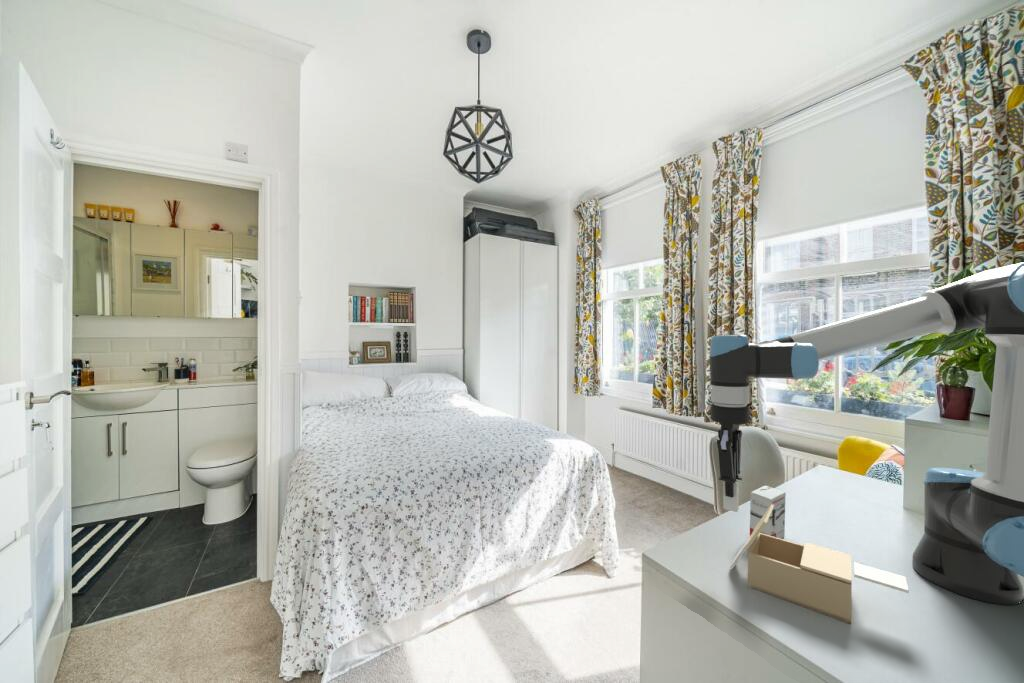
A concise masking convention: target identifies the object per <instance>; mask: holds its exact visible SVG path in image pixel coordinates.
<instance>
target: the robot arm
mask: <svg viewBox="0 0 1024 683" xmlns="http://www.w3.org/2000/svg"><path fill="white" fill-rule="evenodd" d="M973 329H984V337H985V338H987V339H988V340H989V341H990V342H991V343H993V344H994V345H995V346H996V349H995V360H994V361H995V362H994V369H993V382H992V391H991V392H992V394H991V400H990V401H991V403H990V414H989V422H988V423H989V425H988V435H987V445H986V457H985V467H984V472H982V471H975V470H967V469H961V468H950V467H930V468H928V469H927V470H926V471H925V478H924V481H923V485H924V524H923V525H924V528H923V529H924V530H923V532H924V533H923V534H922V537H921V538H920V540H919V542H918V544H917V546H916V548H915V549H914V550H913V553H912V555H911V556H912V561H911V563H912V564H911V565H912V568H913V569H914V571H915V572H916V573H918V574H919V575H920V576H921V577H923V578H924V579H926V580H928V581H929V582H932V583H933V584H935V585H936V586H939V587H941V588H943V589H946V590H949V591H951V592H952V593H956V594H958V595H962V596H964V597H968V598H971V599H974V600H978V601H983V602H987V603H991V604H997V605H1005V604H1014V605H1018V604H1017V603H1019V602H1021V601H1022V600H1023V601H1024V587H1023V586H1024V585H1023V584H1022V581H1021V579H1020V577H1019V576H1021V577H1023V578H1024V262H1019V263H1015V264H1010V265H1005V266H999V267H995V268H989V269H986V270H983V271H981V272H978V273H975V274H973V275H971V276H966V277H965V278H962V279H959V280H958V281H954V282H952V283H949V284H946V285H943V286H941V287H938V288H937V287H936V288H934V289H931V290H927V291H924V292H923V293H922V295H921V296H920V297H919V298H916V299H913V300H910V301H906V302H903V303H899V304H895V305H891V306H889V307H885V308H881V309H878V310H874V311H870V312H867V313H864V314H860V315H856V316H854V317H849V318H846V319H843V320H840V321H836V322H832V323H829V324H825V325H821V326H819V327H815V328H811V329H806V330H803V331H800V332H796V333H794V334H790V335H788V336H783V337H780V338H777V339H772V340H765V341H761V342H759V343H752V342H750V340H749V336H748V335H746V334H724V335H723V334H719V335H718V334H716V335H714V336H713V337H711V339H710V342H709V343H710V345H709V346H710V348H709V373H710V375H709V376H710V378H709V379H710V380H709V381H710V387H708V389H707V391H708V392H709V393H710V401H711V402H712V404H711V405H710V419H711V421H712V422H714V423H718V424H720V429H718V430H717V436H718V437H717V438H718V439H717V440H716V446H717V451H718V465H719V474H720V475H719V477H718V480H719V481H722V492H723V494H722V498H723V499H722V503H723V506H722V507H723V508H722V509H724V510H725V511H726V510H727V511H731V512H735V513H738V512H739V481H743V476H740V474H741V454H742V452H741V451H742V448H741V447H742V435H743V431H742V430H741V429H740V426H741V425H746V424H748V423H750V407H749V406H748V404H750V378H753V379H758V378H760V379H787V380H793V379H794V381H795V380H801V379H802V380H805V379H806V380H807V379H813V378H815V377H816V376H817V375H818V372H819V364H820V362H821V361H824V360H828V359H833V358H836V357H840V356H845V355H849V354H852V353H855V352H860V351H864V350H869V349H872V348H876V347H881V346H884V345H887V344H892V343H897V342H901V341H904V340H908V339H912V338H916V337H920V336H924V335H928V334H933V333H937V332H938V333H941V334H944V335H948V334H952V333H957V332H960V331H965V330H966V331H967V330H973ZM1023 601H1022V602H1023ZM1022 602H1021V603H1022ZM1019 604H1020V603H1019Z"/></svg>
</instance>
